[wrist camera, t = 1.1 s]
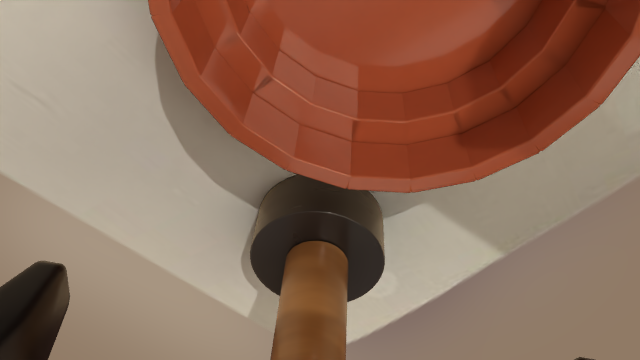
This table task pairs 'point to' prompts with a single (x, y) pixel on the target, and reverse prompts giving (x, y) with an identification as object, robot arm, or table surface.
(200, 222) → the table surface
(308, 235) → the coffee tamper
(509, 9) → the bowl
